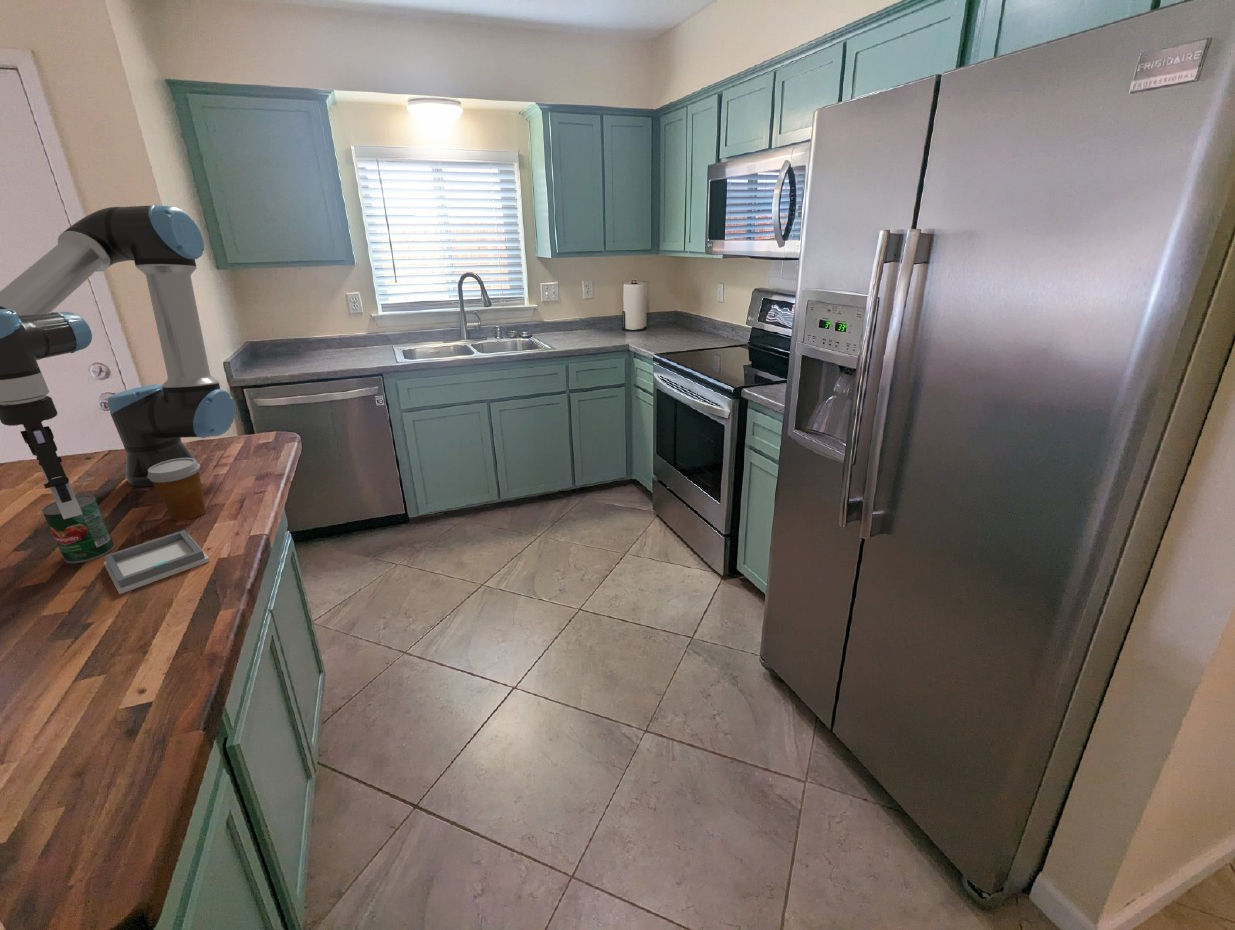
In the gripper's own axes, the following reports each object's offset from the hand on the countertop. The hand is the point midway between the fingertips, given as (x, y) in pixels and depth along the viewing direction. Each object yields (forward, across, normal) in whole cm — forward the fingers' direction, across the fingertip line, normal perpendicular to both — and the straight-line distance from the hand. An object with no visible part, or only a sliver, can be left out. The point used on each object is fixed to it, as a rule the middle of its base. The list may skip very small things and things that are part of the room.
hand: (67, 506), depth 113 cm
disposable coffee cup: (+11, -4, +18) cm, 22 cm away
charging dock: (+11, +16, +8) cm, 21 cm away
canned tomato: (+11, 0, 0) cm, 11 cm away
